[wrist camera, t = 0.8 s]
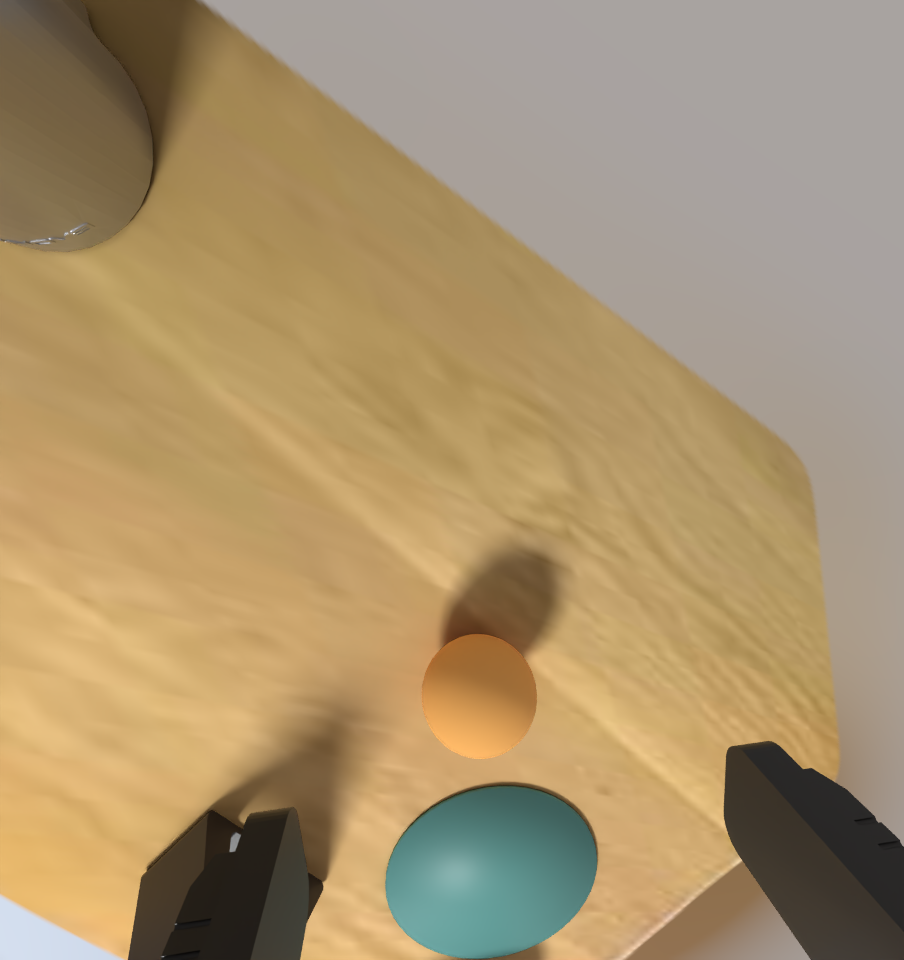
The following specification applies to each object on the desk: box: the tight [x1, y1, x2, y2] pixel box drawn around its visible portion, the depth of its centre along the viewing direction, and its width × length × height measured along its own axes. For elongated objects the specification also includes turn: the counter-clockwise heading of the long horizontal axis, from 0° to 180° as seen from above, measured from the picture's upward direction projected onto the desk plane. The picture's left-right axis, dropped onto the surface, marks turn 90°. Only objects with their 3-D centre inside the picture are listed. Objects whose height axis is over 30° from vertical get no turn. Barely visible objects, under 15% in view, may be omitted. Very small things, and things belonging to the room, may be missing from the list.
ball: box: [422, 634, 537, 759], centre depth 27 cm, size 6×6×6 cm
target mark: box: [385, 786, 597, 959], centre depth 33 cm, size 14×14×1 cm
